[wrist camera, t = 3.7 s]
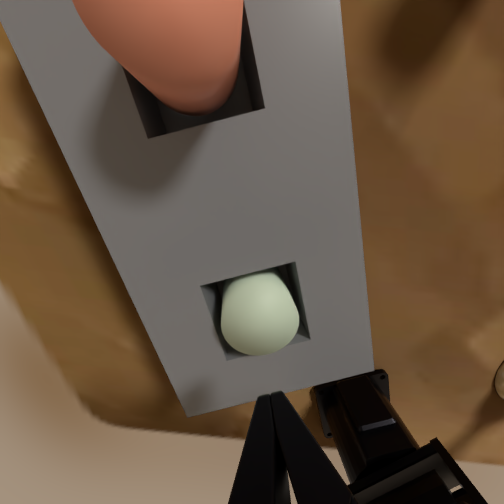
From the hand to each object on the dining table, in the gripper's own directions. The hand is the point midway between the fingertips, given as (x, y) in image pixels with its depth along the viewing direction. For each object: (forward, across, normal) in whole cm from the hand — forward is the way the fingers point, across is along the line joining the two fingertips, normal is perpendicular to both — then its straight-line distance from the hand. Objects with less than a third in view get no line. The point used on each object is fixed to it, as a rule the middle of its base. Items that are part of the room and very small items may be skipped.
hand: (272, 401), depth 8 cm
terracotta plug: (+6, 0, -12) cm, 13 cm away
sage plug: (+10, 0, 0) cm, 10 cm away
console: (+10, 0, -6) cm, 12 cm away
